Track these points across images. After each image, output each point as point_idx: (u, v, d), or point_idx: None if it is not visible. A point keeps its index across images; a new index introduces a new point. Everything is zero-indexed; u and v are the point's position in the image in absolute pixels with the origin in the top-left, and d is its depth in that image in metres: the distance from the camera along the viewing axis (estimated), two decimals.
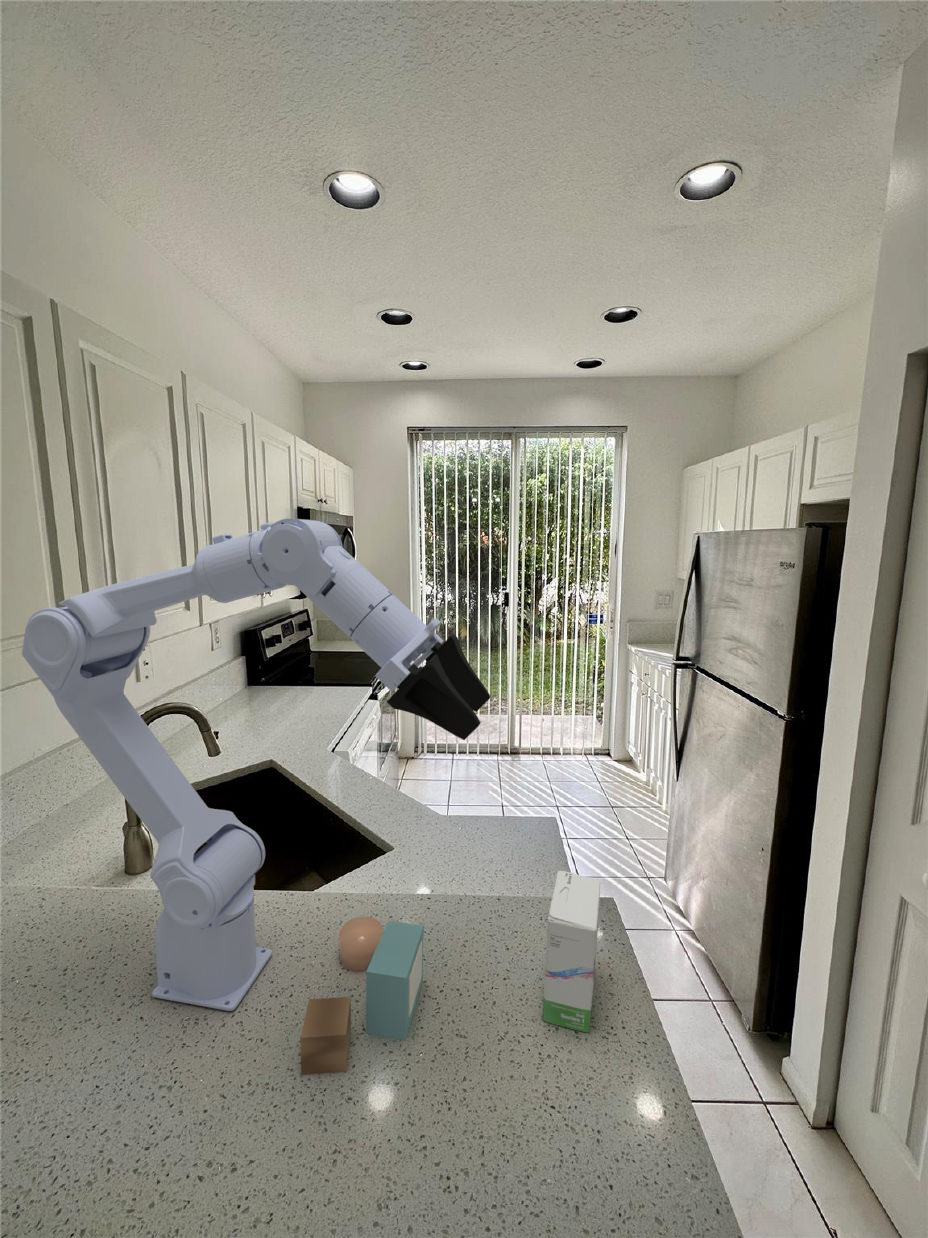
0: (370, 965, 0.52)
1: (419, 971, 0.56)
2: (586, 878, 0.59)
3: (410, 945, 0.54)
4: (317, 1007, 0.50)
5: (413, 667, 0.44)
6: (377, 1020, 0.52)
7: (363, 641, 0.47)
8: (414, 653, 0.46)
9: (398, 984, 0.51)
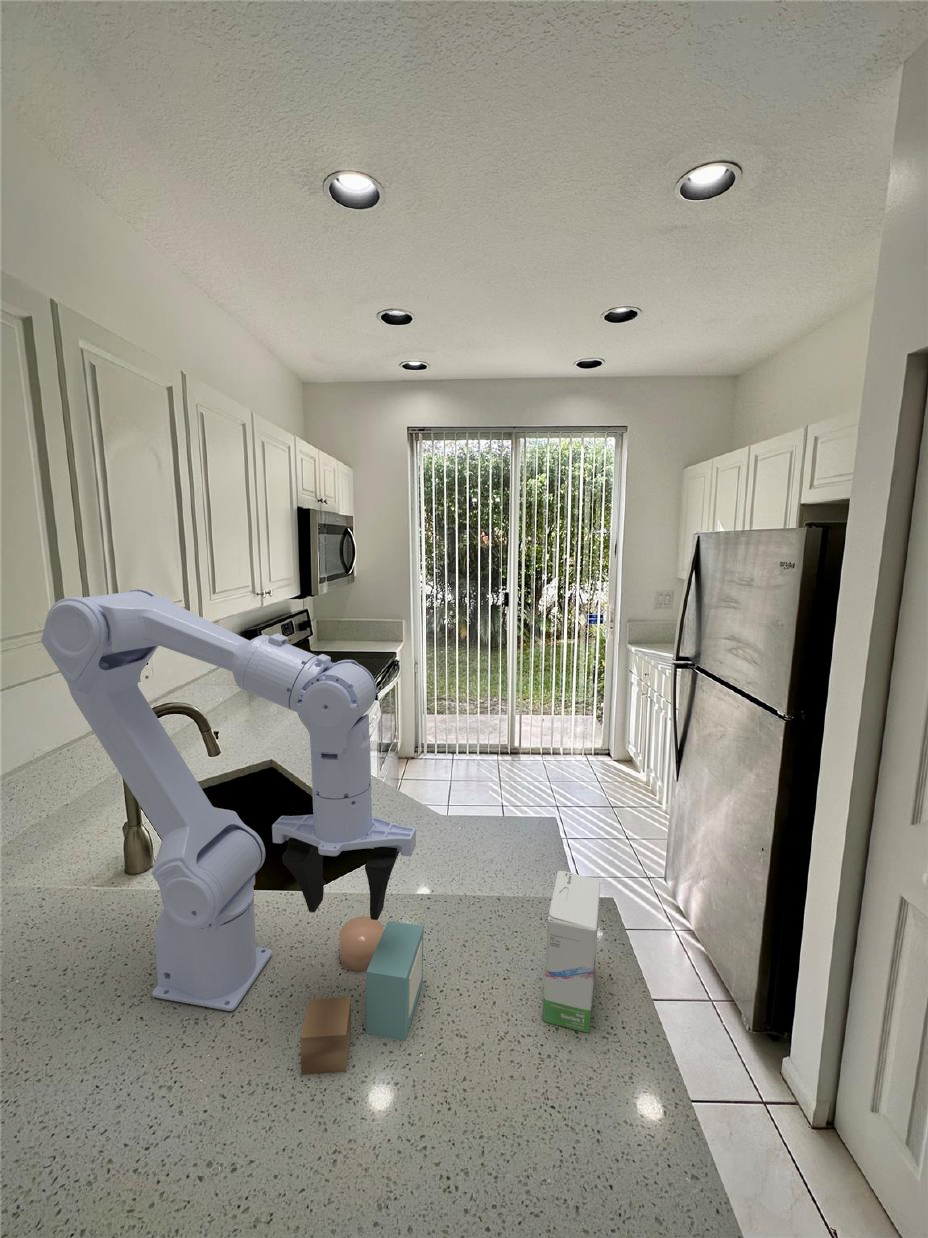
0: (370, 965, 0.52)
1: (419, 971, 0.56)
2: (586, 878, 0.59)
3: (410, 945, 0.54)
4: (317, 1007, 0.50)
5: (296, 843, 0.53)
6: (377, 1020, 0.52)
7: None
8: None
9: (398, 984, 0.51)
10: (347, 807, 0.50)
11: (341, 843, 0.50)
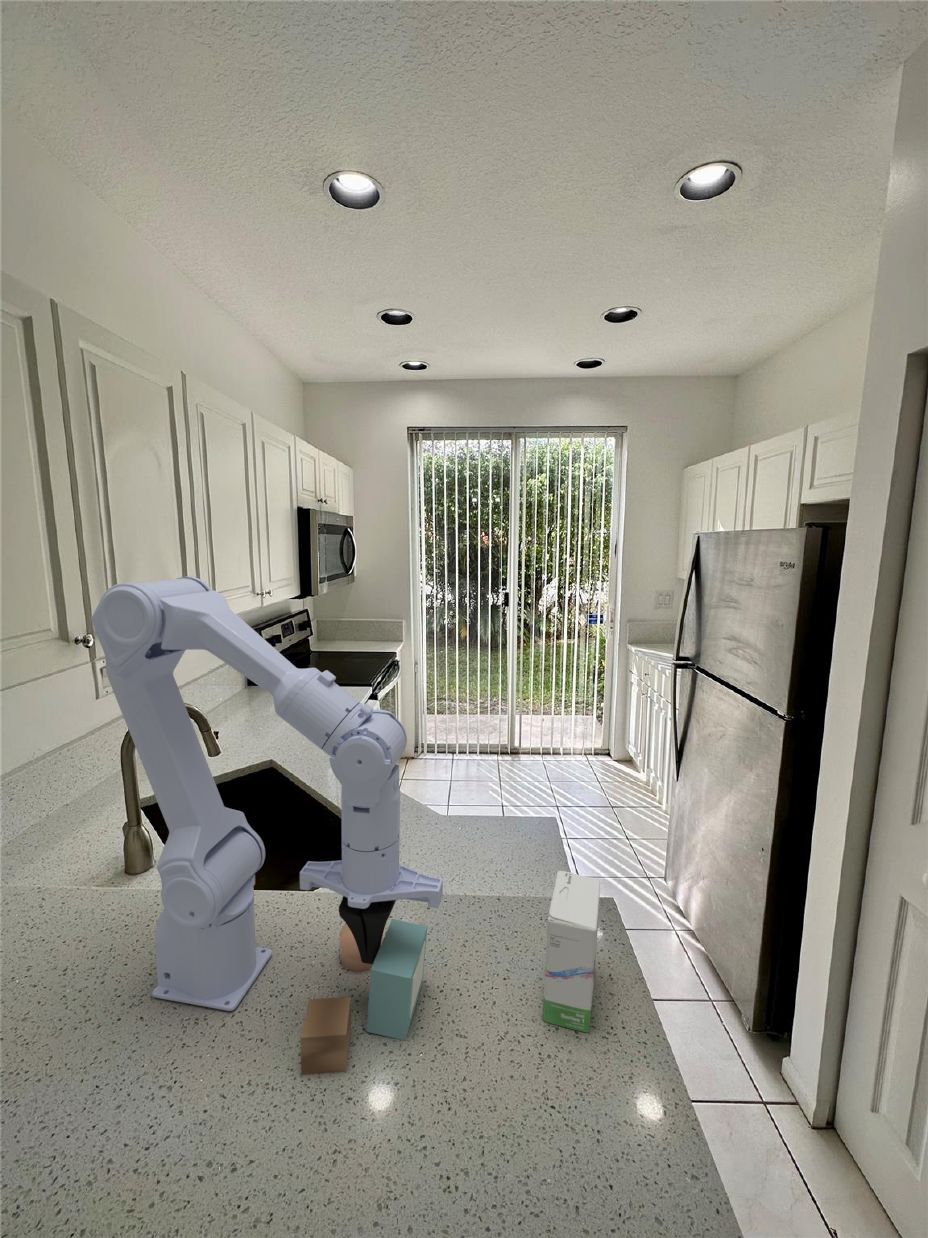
0: (374, 963, 0.52)
1: (421, 971, 0.56)
2: (586, 878, 0.59)
3: (414, 945, 0.54)
4: (317, 1007, 0.50)
5: None
6: (378, 1018, 0.52)
7: None
8: None
9: (402, 984, 0.51)
10: (377, 859, 0.50)
11: (370, 895, 0.50)
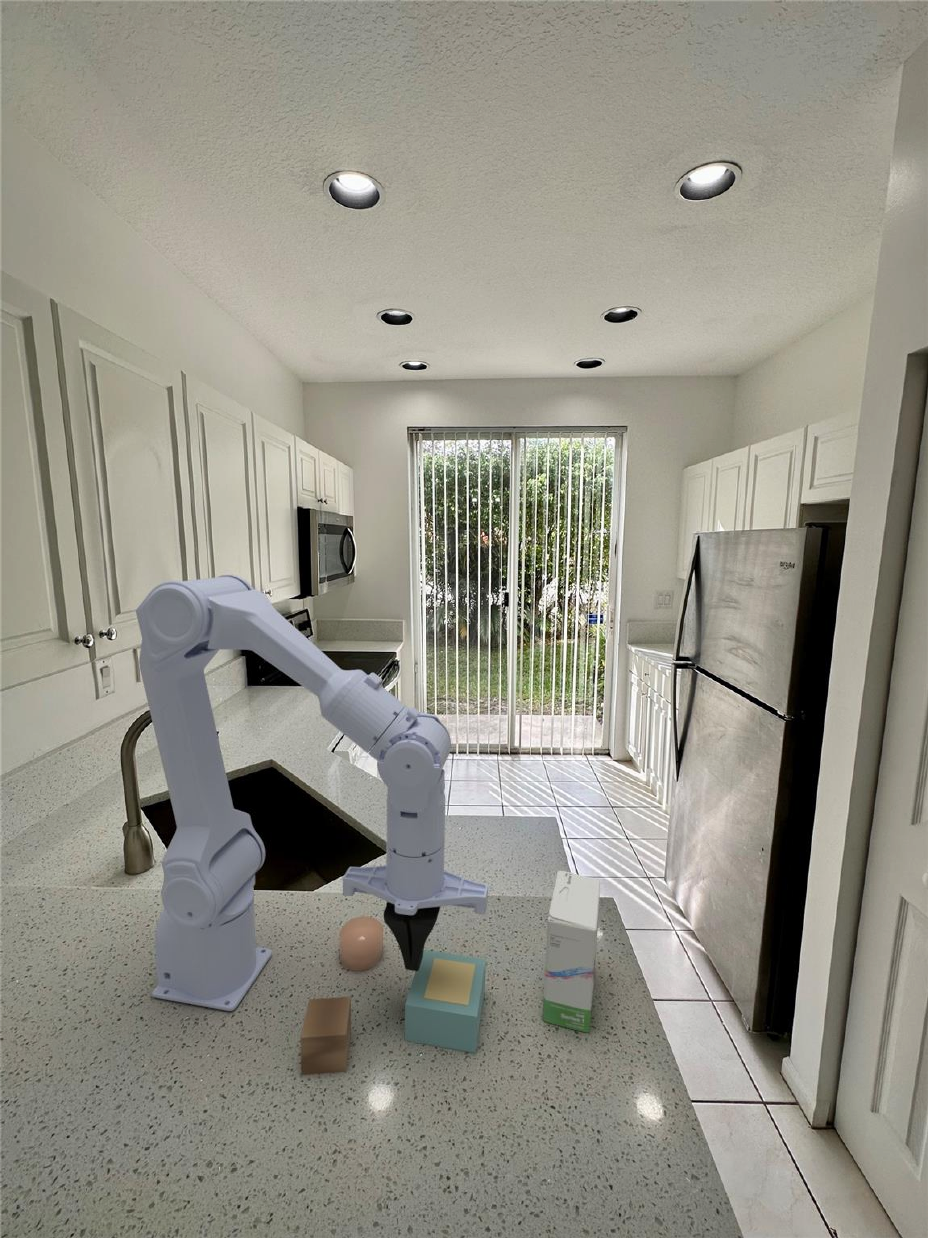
0: (478, 1011, 0.51)
1: None
2: (586, 878, 0.59)
3: (481, 1010, 0.54)
4: (317, 1007, 0.50)
5: None
6: (423, 1018, 0.51)
7: None
8: None
9: (467, 1044, 0.50)
10: (424, 865, 0.50)
11: (417, 901, 0.50)
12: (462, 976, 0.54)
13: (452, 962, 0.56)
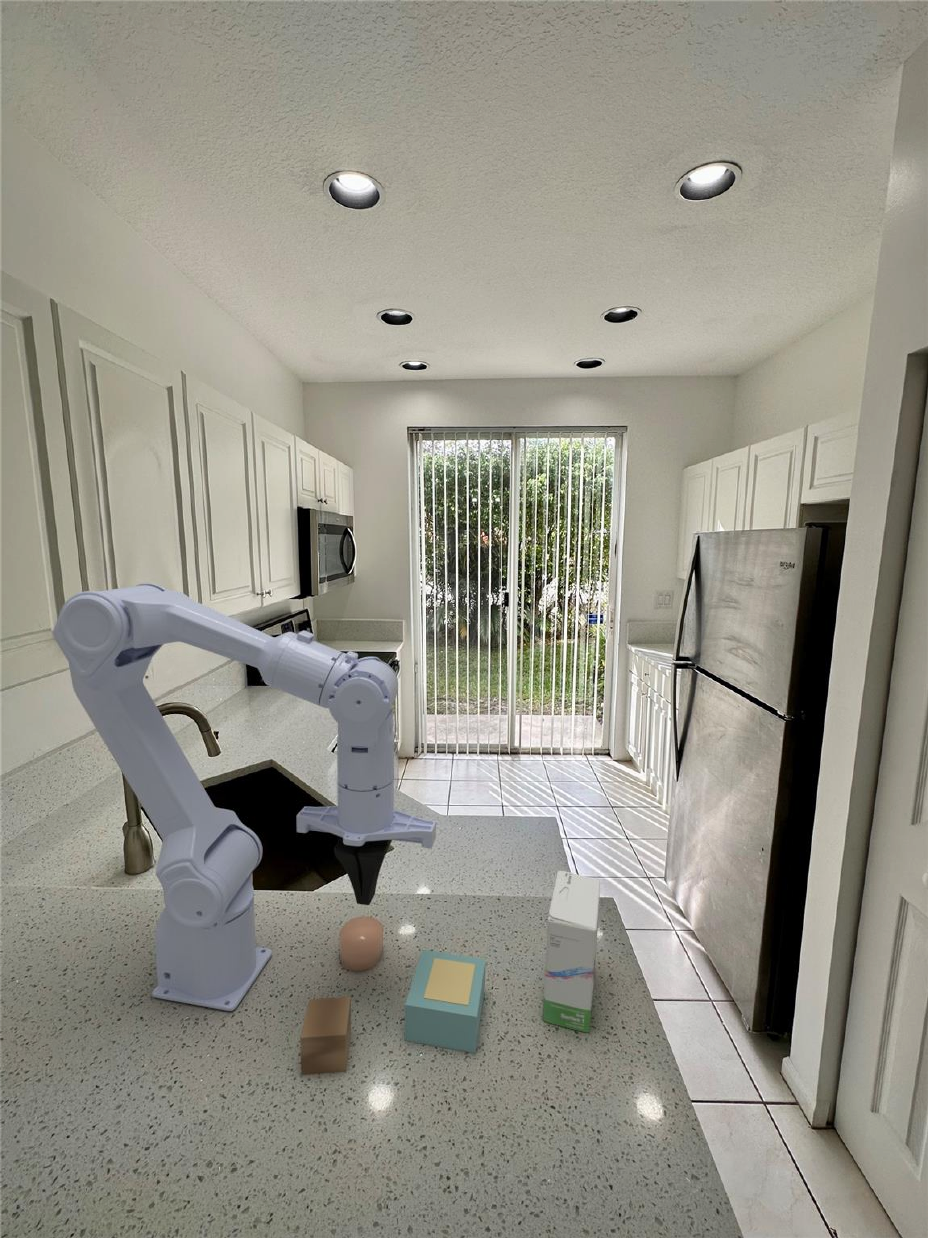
0: (478, 1011, 0.51)
1: None
2: (586, 878, 0.59)
3: (481, 1010, 0.54)
4: (317, 1007, 0.50)
5: None
6: (422, 1018, 0.51)
7: None
8: None
9: (467, 1044, 0.50)
10: (372, 799, 0.52)
11: (365, 834, 0.52)
12: (462, 976, 0.54)
13: (452, 962, 0.56)
